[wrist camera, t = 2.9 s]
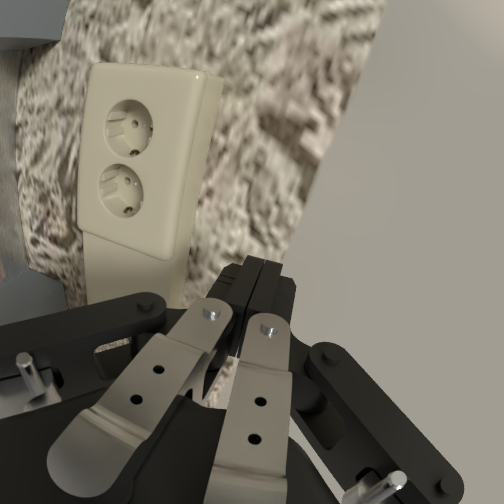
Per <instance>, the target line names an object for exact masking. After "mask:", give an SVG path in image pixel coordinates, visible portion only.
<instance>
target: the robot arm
mask: <svg viewBox="0 0 504 504" xmlns="http://www.w3.org/2000/svg"><path fill="white" fill-rule="evenodd" d="M264 262H265V264H264ZM282 266H283V264H281V263H277V262H273V261H269V260H266V261H265V259H261V258H257V257H253V256H250V255H247V257H246V259H245V261H244V263H243V265H238V264H234V263H232V264H230V265H228V266H226V267H224V268H223V270H222V272H221V273H220V276H218V278H217V280H216V281H215V283H214V284H213V286H212V288H211V289H210V291H209V293H208V294H207V296H206V297H205V298H202V299H198V300H196V301H195V302H194V303H193V304H192V305H191V306H190V307H189V308H188V309H174V308H167V304H166V301H165V299H164V298H163V297H161V296H160V295H158V294H155V293H152V292H139V293H135V294H131V295H127V296H123V297H119V298H115V299H110V300H106V301H102V302H98V303H94V304H90V305H86V306H82V307H78V308H73V309H69V310H65V311H61V312H57V313H53V314H48V315H44V316H40V317H36V318H31V319H27V320H23V321H19V322H14V323H10V324H6V325H1V326H0V504H340V503H339V502H338V500H337V499H336V497H335V496H334V494H333V493H332V492H331V490H330V489H329V487H328V486H327V484H326V483H325V481H324V480H323V478H322V476H321V475H320V473H319V472H318V470H317V469H316V467H315V466H314V464H313V463H312V461H311V460H310V458H309V457H308V455H307V454H306V452H305V451H304V450H303V449H302V448H301V446H300V445H299V444H298V443H296V442H295V441H294V440H293V439H292V438H290V437H289V436H288V435H289V421H290V416H291V417H292V419H293V420H294V422H295V423H296V424H297V426H298V427H299V429H300V430H301V432H302V433H303V435H304V436H305V437H306V439H307V440H308V442H309V443H310V445H311V446H312V447H313V449H314V450H315V452H316V453H317V454H318V456H319V457H320V459H321V460H322V461H323V463H324V464H325V465H326V467H327V468H328V470H329V471H330V472H331V474H332V475H333V477H334V478H335V479H336V480H337V482H338V483H339V485H340V486H341V487H342V489H343V490H344V491H345V494H344V495H343V498H342V504H458V503H459V502H460V501H461V499H462V497H463V494H464V483H463V480H462V478H461V476H460V475H459V473H458V472H457V471H456V470H455V469H454V468H453V467H452V466H451V464H450V463H449V462H448V461H447V460H446V459H445V458H444V457H443V456H442V455H441V453H440V452H439V451H438V450H436V448H435V447H434V446H433V445H432V444H431V443H430V441H429V440H428V439H427V438H426V437H425V436H424V435H423V434H422V433H421V432H420V431H419V429H418V428H417V427H416V426H415V425H414V424H413V423H412V422H411V421H410V420H409V418H407V416H406V415H405V414H404V413H403V412H402V411H401V410H400V409H399V408H398V407H397V405H396V404H395V403H394V402H393V401H392V400H391V399H390V398H389V397H388V396H387V395H386V393H385V392H384V391H383V390H382V389H381V388H380V387H379V386H378V385H377V384H376V382H375V381H374V380H373V379H372V378H371V377H370V376H369V375H368V374H367V373H366V372H365V370H364V369H363V368H362V367H361V366H360V365H359V364H358V363H357V362H356V361H355V360H354V359H353V358H352V356H351V355H350V354H349V353H348V352H347V351H346V350H345V349H344V348H342V347H341V346H339V345H337V344H334V343H330V342H319V343H317V344H315V345H313V346H312V347H310V346H308V345H306V344H304V343H302V342H301V341H299V340H298V339H297V338H296V337H295V336H294V335H293V334H292V332H291V330H290V320H291V315H292V309H293V303H294V298H295V292H296V285H295V283H294V281H293V279H292V278H288V277H284V276H280V273H281V270H282ZM128 337H129V344H126V345H122V346H119V347H116V348H112V349H109V350H105V351H102V352H98V353H94V351H95V349H96V348H97V347H99V346H101V345H104V344H107V343H111V342H114V341H118V340H121V339H124V338H128ZM238 348H239V349H238ZM237 350H238V354H237V358H240V359H239V362H238V366H237V370H236V375H235V379H234V383H233V387H232V391H231V395H230V399H229V403H228V407H227V410H226V409H215V408H206V407H204V405H205V403H206V401H207V399H208V397H209V395H210V393H211V392H212V390H213V388H214V386H215V384H216V382H217V380H218V378H219V376H220V374H221V373H222V370H223V365H224V364H225V362H226V360H227V357H228V355H229V356H233V357H235V356H236V353H237Z"/></svg>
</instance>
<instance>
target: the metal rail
mask: <svg viewBox="0 0 504 504" xmlns="http://www.w3.org/2000/svg"><path fill="white" fill-rule="evenodd" d="M21 56H22V50H18V51H0V280H2V281H3V282H5V283H7V284H8V283H10V282H11V281H12V280H14V279H15V278H16V277H18V276H19V275H20V274H22V273H23V272H25V271H26V270H27V269H29V264H28V259H27V254H26V249H25V243H24V237H23V231H22V224H21V217H20V209H19V200H18V189H17V175H16V150H15V128H16V103H17V90H18V80H19V71H20V63H21Z"/></svg>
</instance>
